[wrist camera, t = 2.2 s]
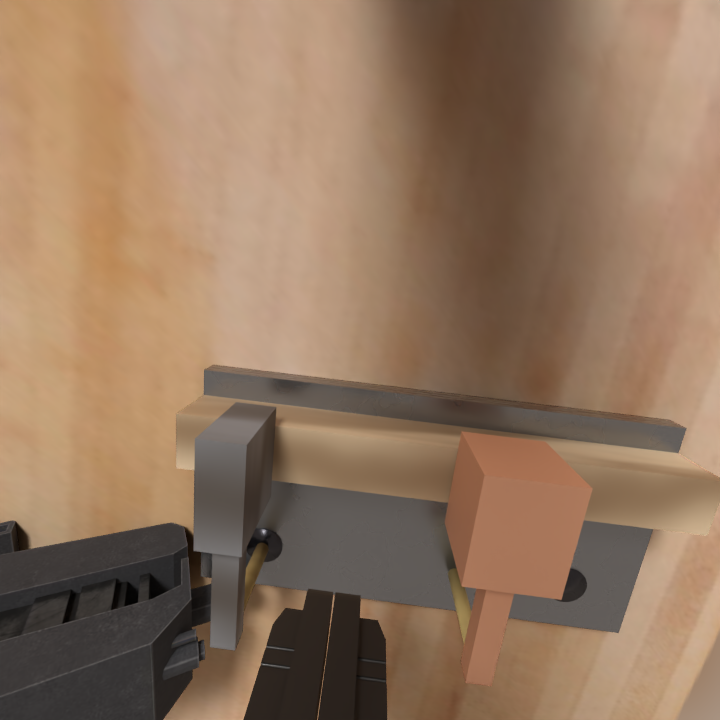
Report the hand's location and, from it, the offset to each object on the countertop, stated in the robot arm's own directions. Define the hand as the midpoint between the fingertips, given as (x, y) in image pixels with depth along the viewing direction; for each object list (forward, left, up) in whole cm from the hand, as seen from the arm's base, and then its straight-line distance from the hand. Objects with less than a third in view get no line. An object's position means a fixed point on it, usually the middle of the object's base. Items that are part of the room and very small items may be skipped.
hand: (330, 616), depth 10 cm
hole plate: (+4, +5, -13) cm, 14 cm away
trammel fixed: (+3, +5, -12) cm, 13 cm away
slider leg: (+3, +7, -11) cm, 13 cm away
